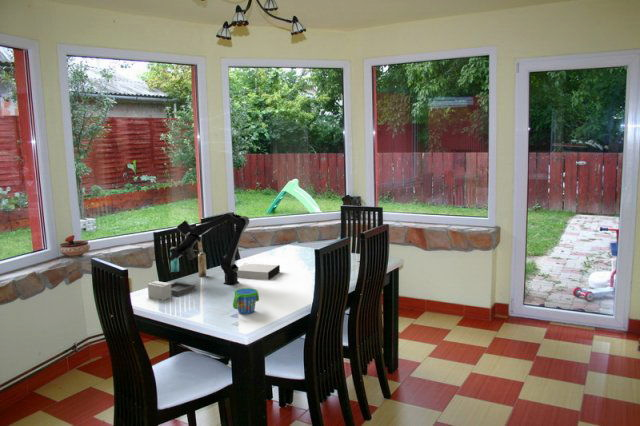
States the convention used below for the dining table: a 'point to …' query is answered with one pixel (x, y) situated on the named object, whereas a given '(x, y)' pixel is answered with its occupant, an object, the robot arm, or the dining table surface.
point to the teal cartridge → (174, 264)
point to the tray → (181, 288)
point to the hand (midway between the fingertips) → (172, 259)
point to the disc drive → (258, 271)
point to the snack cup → (245, 300)
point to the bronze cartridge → (202, 264)
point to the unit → (159, 290)
